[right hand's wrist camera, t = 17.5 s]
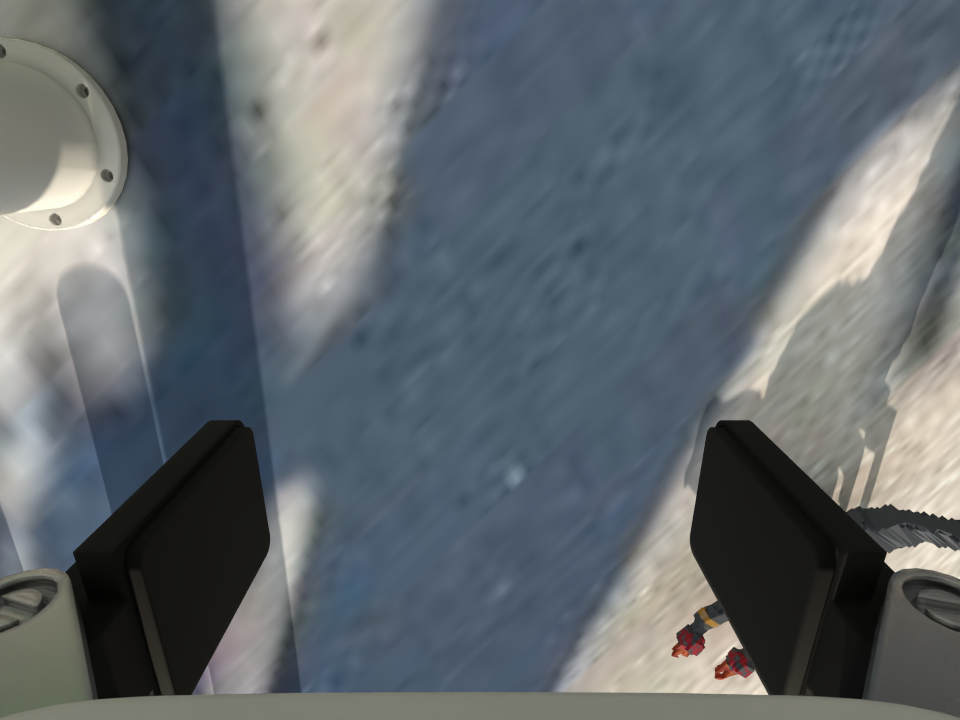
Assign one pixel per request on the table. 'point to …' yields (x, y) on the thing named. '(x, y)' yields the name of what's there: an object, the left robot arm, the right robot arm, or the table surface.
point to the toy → (880, 524)
